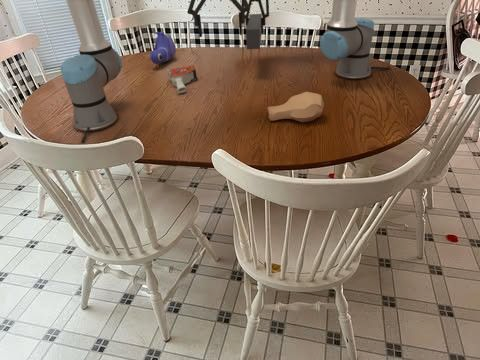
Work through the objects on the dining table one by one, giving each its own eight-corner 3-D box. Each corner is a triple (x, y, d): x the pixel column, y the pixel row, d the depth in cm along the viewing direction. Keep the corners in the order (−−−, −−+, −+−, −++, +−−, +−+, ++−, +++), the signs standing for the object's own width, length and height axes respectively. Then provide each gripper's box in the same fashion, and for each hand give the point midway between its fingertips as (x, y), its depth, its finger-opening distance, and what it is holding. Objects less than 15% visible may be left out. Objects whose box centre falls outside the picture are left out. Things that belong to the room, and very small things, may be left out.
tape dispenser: (182, 98, 151) (209, 79, 163) (180, 86, 147) (208, 68, 160) (151, 89, 158) (180, 72, 171) (149, 78, 155) (178, 61, 167)
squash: (327, 123, 123) (327, 101, 117) (270, 133, 125) (267, 112, 119) (321, 105, 131) (320, 84, 124) (267, 115, 133) (264, 94, 126)
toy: (164, 64, 198) (143, 70, 176) (159, 31, 191) (137, 33, 169) (180, 63, 196) (162, 69, 173) (176, 30, 189) (156, 32, 167)
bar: (259, 48, 153) (259, 29, 148) (246, 49, 153) (246, 29, 148) (261, 31, 176) (261, 14, 171) (250, 32, 177) (250, 14, 172)
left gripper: (255, -42, 110) (257, 30, 122) (175, -38, 111) (185, 34, 123) (256, -40, 104) (258, 36, 116) (172, -35, 105) (182, 39, 117)
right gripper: (275, -24, 161) (275, 30, 175) (234, -22, 163) (237, 31, 176) (275, -22, 155) (275, 34, 169) (233, -20, 157) (236, 35, 170)
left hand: (220, 35), depth 120 cm, fingers open, 13 cm apart
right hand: (255, 32), depth 172 cm, fingers closed on bar, 6 cm apart
